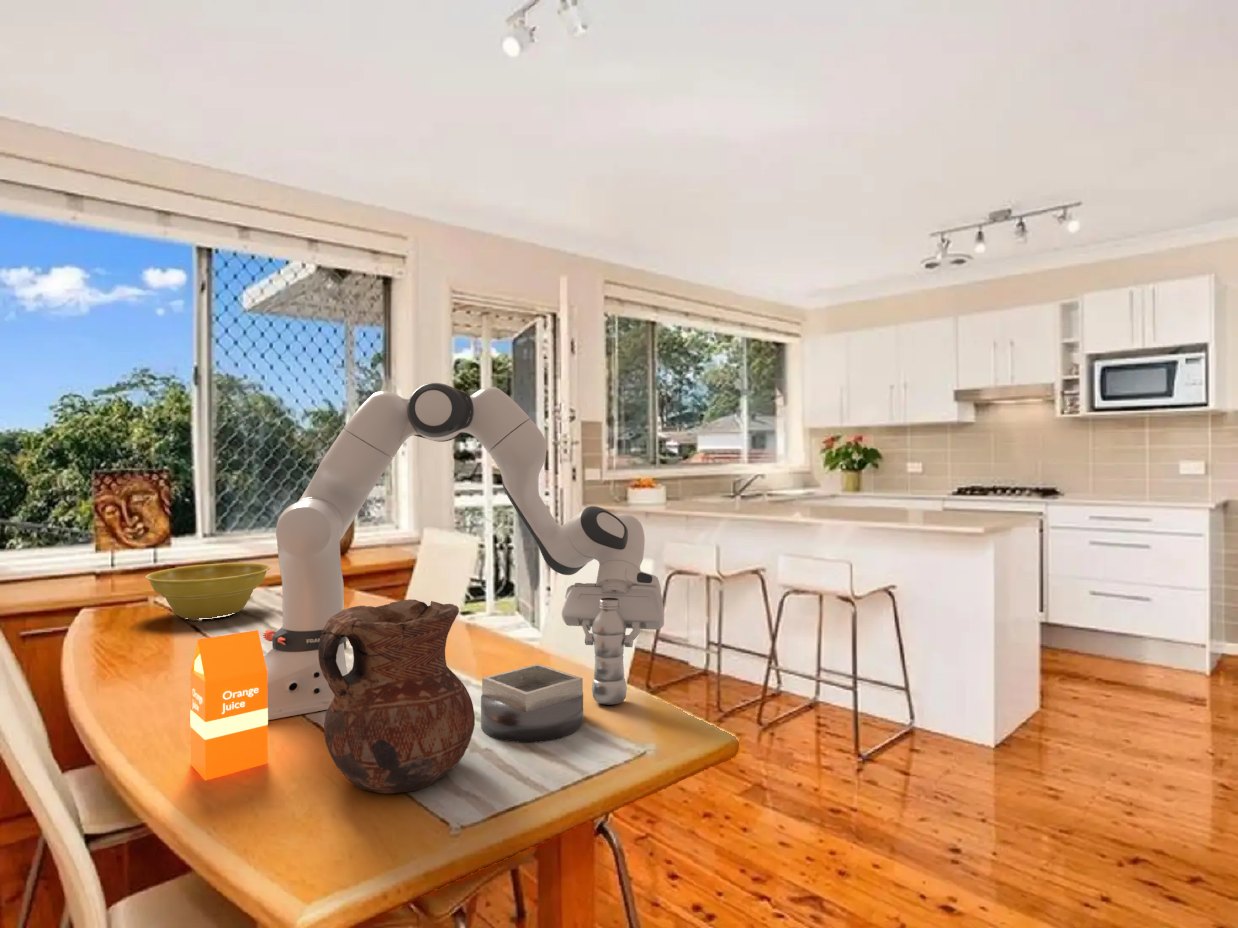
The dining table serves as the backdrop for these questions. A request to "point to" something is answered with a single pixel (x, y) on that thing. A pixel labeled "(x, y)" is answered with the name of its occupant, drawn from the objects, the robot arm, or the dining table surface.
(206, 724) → the orange juice
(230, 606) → the planter bowl
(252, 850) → the dining table surface
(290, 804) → the dining table surface
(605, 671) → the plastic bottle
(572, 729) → the disc with square tube
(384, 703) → the jug
